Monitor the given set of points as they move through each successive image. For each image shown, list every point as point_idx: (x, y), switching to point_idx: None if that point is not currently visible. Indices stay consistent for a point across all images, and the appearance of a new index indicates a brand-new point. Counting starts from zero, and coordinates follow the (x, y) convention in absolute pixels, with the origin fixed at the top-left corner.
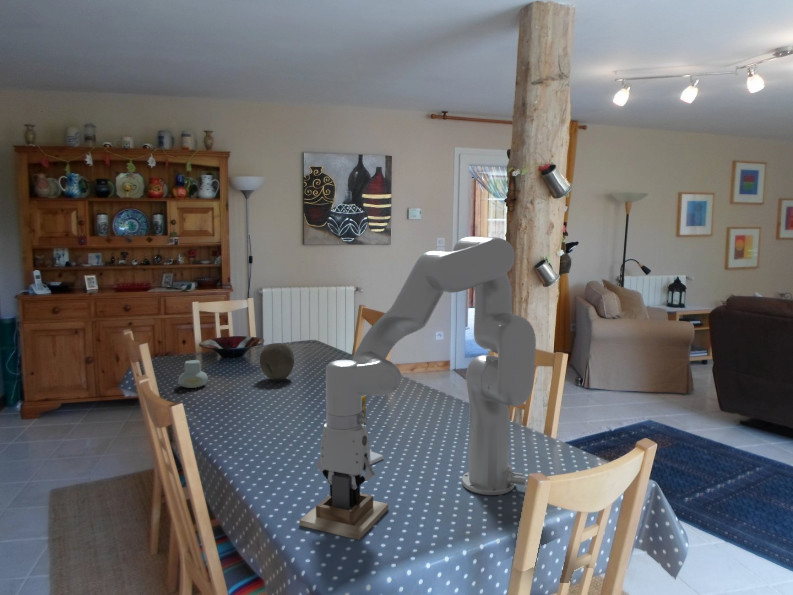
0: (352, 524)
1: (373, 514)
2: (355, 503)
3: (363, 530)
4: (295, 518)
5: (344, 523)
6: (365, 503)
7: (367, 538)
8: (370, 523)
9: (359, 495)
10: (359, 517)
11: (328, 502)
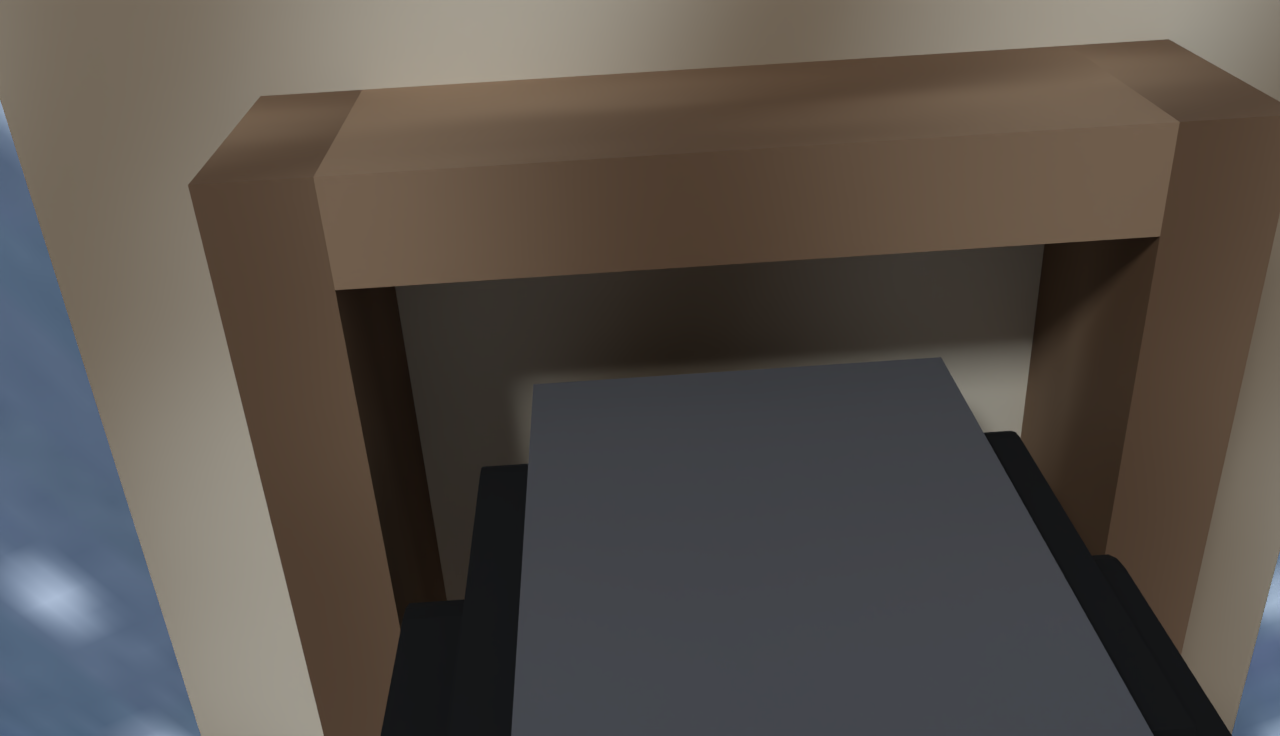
0: None
1: (1263, 314)
2: None
3: (1227, 717)
4: (65, 725)
5: None
6: (1214, 490)
7: (1265, 691)
8: (1272, 530)
9: (1143, 622)
10: None
11: None
